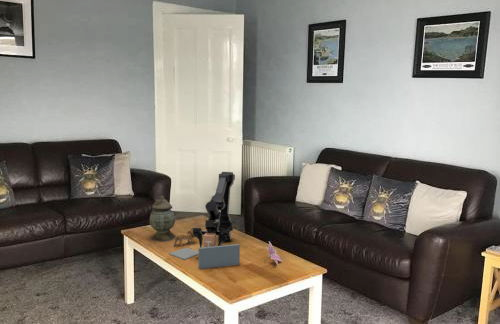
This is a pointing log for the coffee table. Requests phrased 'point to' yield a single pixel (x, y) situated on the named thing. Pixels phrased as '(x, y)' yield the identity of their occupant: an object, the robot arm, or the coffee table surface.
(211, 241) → the salmon pink tall block
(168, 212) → the lidded urn
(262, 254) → the coffee table surface
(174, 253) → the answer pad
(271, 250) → the lily
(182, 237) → the lion figurine
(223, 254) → the screen
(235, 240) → the coffee table surface
